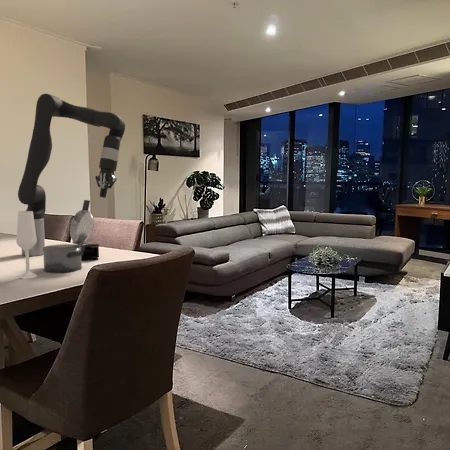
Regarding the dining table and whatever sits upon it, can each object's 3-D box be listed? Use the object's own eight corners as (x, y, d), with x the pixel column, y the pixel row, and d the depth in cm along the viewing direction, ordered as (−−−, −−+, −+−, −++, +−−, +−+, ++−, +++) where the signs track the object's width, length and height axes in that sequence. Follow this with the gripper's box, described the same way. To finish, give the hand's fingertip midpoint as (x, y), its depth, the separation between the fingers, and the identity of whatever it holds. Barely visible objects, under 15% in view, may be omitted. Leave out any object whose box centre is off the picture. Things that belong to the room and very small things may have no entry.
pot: (68, 262, 174) (67, 242, 173) (96, 268, 162) (96, 246, 161) (33, 268, 161) (32, 246, 160) (61, 275, 150) (60, 251, 149)
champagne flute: (30, 273, 152) (28, 210, 150) (41, 276, 149) (39, 211, 146) (13, 277, 146) (11, 211, 144) (24, 279, 143) (22, 212, 141)
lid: (66, 242, 169) (69, 242, 170) (86, 245, 161) (89, 246, 162) (75, 199, 171) (78, 200, 172) (96, 200, 163) (98, 201, 164)
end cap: (98, 257, 187) (98, 243, 187) (99, 260, 181) (99, 245, 180) (75, 258, 184) (75, 244, 183) (76, 261, 177) (75, 246, 176)
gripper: (93, 157, 181) (86, 195, 180) (111, 157, 173) (104, 196, 172) (106, 161, 187) (100, 197, 186) (125, 161, 179) (118, 199, 178)
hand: (102, 197), depth 179 cm, fingers closed
